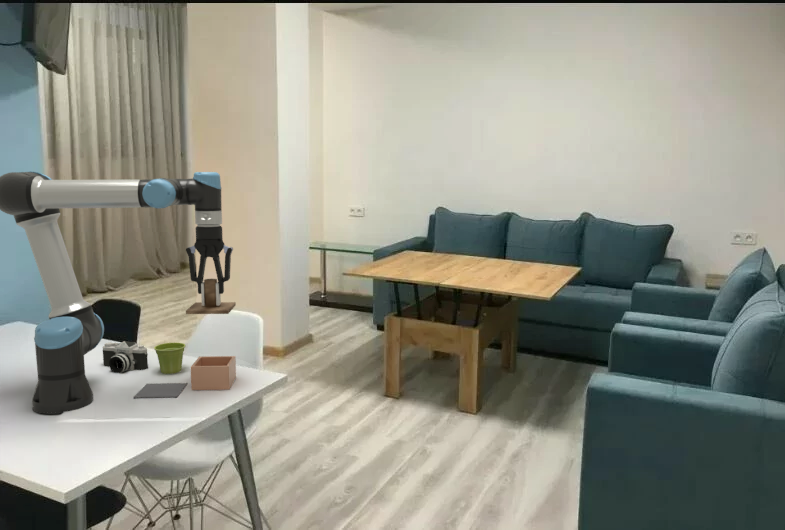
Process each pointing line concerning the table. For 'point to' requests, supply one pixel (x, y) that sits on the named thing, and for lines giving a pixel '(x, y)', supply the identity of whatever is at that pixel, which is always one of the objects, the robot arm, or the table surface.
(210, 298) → the lid
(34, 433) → the table surface
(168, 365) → the plant pot
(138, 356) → the camera
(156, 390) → the mat
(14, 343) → the table surface
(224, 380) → the pink open box
